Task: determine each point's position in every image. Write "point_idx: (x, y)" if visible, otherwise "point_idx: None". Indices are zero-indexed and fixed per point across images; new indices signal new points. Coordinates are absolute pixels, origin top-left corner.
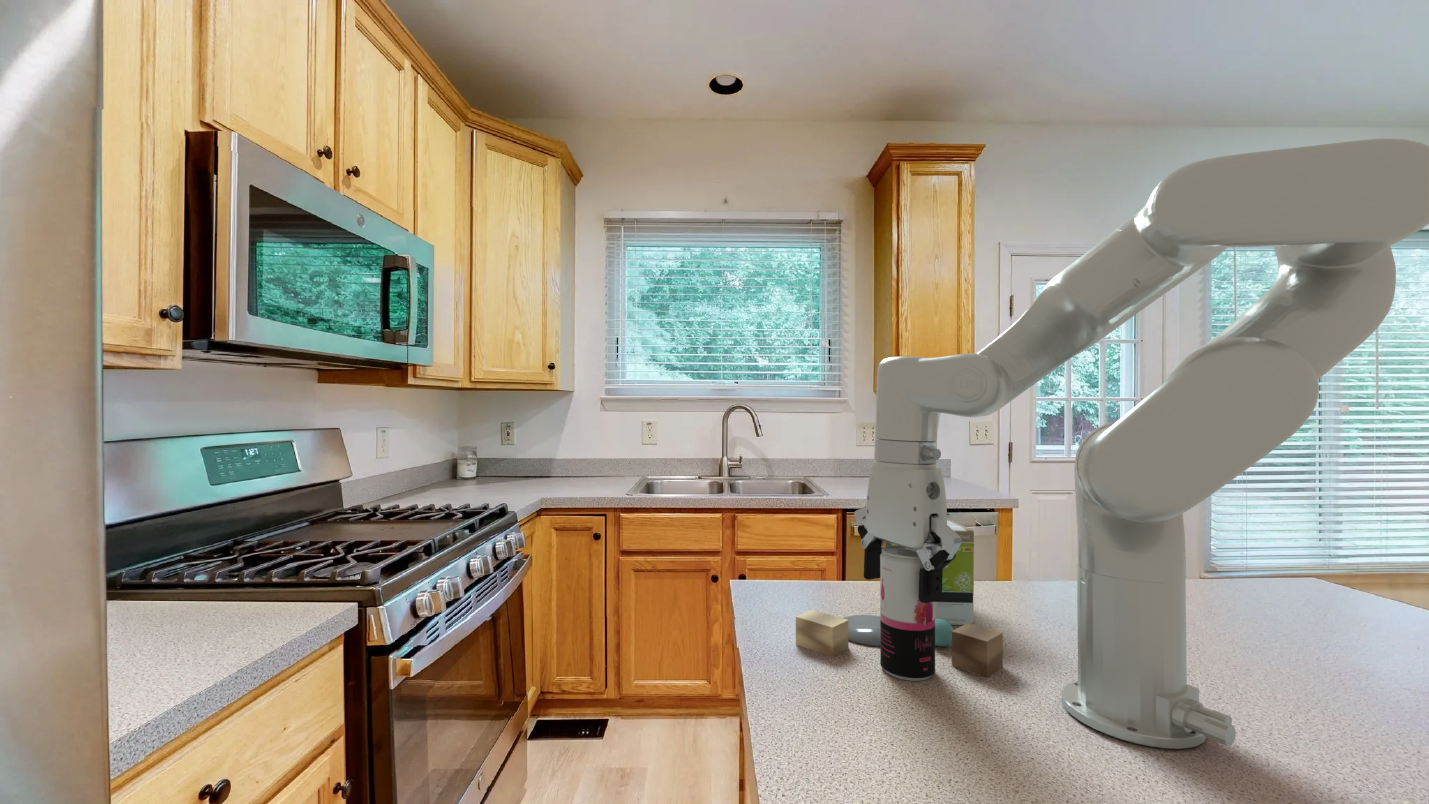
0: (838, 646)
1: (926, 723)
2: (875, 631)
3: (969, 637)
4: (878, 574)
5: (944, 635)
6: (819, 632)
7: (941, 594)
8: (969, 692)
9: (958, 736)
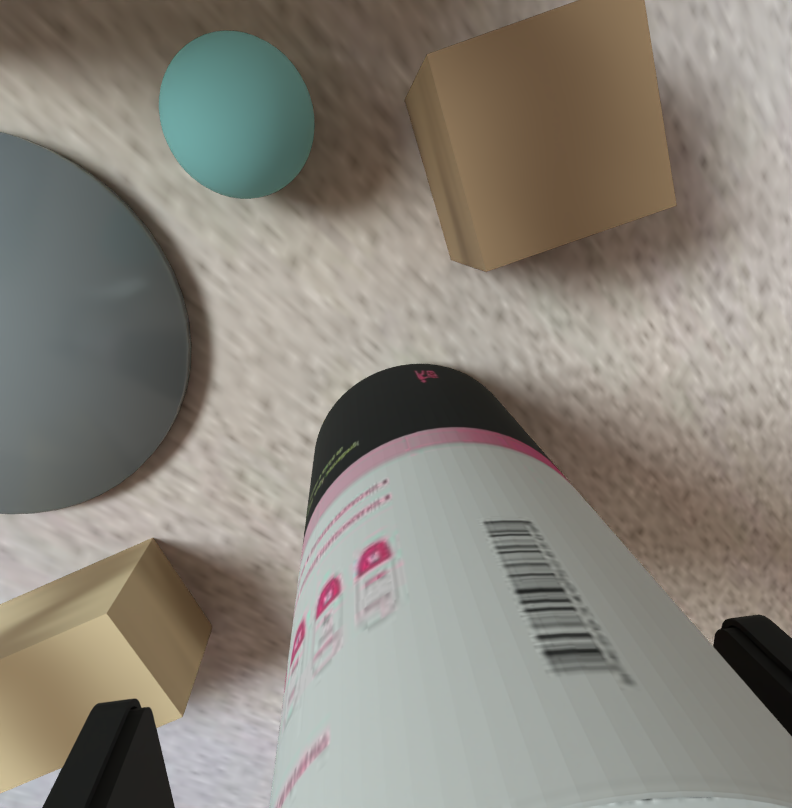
0: (185, 614)
1: (689, 611)
2: (38, 359)
3: (580, 237)
4: (151, 783)
5: (308, 153)
6: None
7: (785, 637)
8: (636, 372)
9: (772, 580)
